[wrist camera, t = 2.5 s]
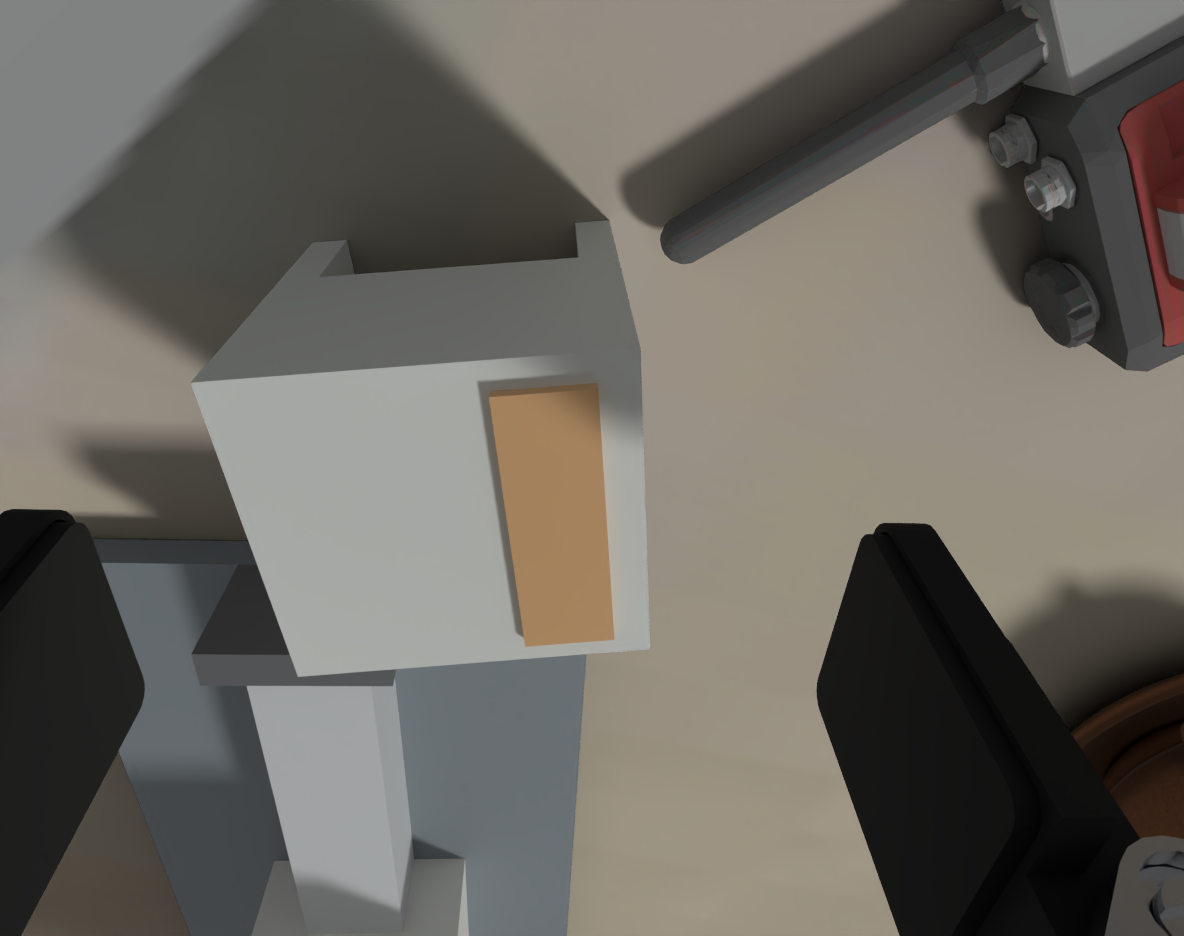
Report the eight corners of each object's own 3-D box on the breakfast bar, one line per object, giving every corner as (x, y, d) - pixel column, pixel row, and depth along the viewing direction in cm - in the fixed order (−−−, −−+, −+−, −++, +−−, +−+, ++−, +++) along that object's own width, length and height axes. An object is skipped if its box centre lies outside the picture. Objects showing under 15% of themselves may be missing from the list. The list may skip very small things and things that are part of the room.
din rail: (564, 935, 33) (568, 1196, 26) (212, 941, 32) (118, 1214, 25) (590, 546, 22) (609, 809, 15) (64, 538, 21) (-172, 815, 14)
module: (620, 454, 21) (651, 657, 15) (369, 473, 21) (295, 685, 14) (609, 220, 17) (641, 353, 11) (312, 242, 17) (185, 389, 11)
